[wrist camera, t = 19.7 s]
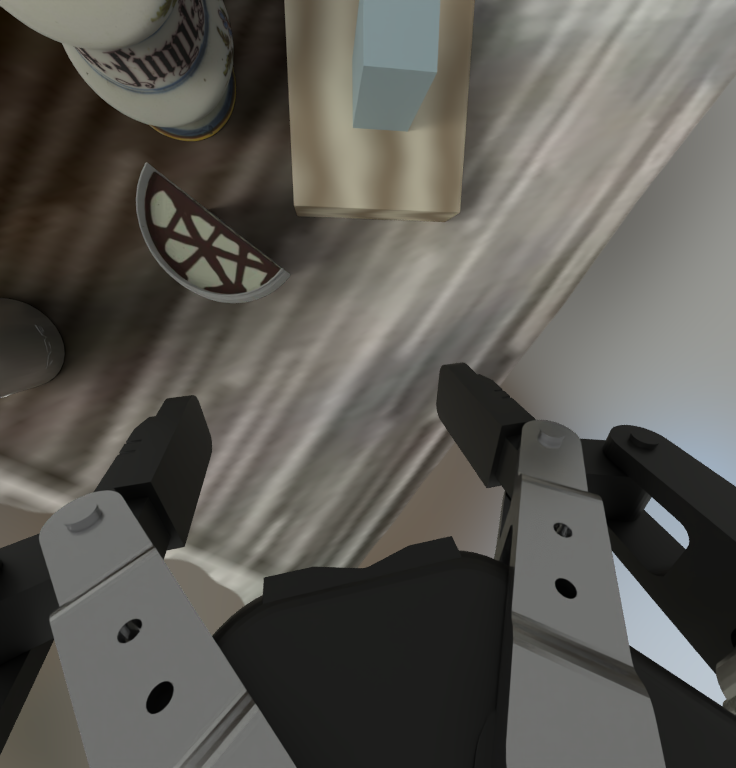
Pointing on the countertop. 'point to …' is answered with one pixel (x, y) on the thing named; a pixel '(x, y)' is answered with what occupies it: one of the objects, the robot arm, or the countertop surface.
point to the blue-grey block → (393, 61)
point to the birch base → (371, 146)
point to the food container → (201, 245)
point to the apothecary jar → (147, 57)
